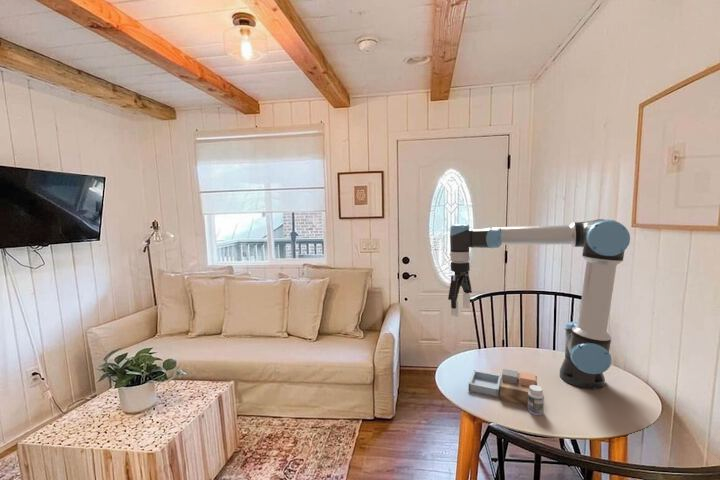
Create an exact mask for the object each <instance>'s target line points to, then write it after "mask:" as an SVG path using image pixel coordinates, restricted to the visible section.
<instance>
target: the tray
mask: <svg viewBox="0 0 720 480" xmlns="http://www.w3.org/2000/svg"><path fill="white" fill-rule="evenodd" d="M501 377H502V374H496V373H495V374H494V373H489V372H486V371H485V372H484V371H481V370H472V373H471V377H470V379H469V381H468V392H471V393H475V394H480V395H484V396H490V397H493V398H500V382H501Z"/></svg>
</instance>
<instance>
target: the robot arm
mask: <svg viewBox="0 0 720 480" xmlns="http://www.w3.org/2000/svg"><path fill="white" fill-rule="evenodd" d="M449 231H450V232H449V233H450V234H449V238H450V239H449V240H450V242H449V243H450V253H449V256H450V261H451V262H450V271H451V272H454V275H453V274H452V275H451V276H450V286H449V290H448V297H447V298H448V299H447V300H449V301H450V316H451V317H459V300H458V297H459V292H460V289H462V291H463V292H462V307H463V308H464V309H471V302H470V301H471V300H470V299H471V298H470V296H471V295H470V294H472V293H473V290H472V285H471V280H470V275H469V274H470V270H471V269H470V267H471V266H470V261H471V260H470V248H477V249H478V248H479V249H481V248H482V249H483V248H484V249H488V248H489V249H494V248H496V249H498V248H500V247H501V245H504V246H505V245H507V246H508V245H510V246H511V245H515V246H516V245H517V246H518V245H522V246H523V245H571V246H572V247H574V248H576V247H577V248H582V257H583V259H584V260H585V261H586V265H585V269H584V270H585V272H584V276H583V277H584V278H583V284H582V285H583V286H582V293H581V300H580V306H579V307H580V308H579V313H578V314H579V315H578V321H570V322H567V323H565V328H564V330H565V342H564V344H565V347H564V359H563V361H562V363H561V366H560V368H559V377H560V379H561V380H563V381H564V382H565V383H568V384H570V385H572V386H575V387H578V388H582V389H587V390H588V389H589V390H599V389H602V388H604V387H605V385H606V379H605V375H604V373H605V372H606V371H608V370H609V368H611V365H612V356H611V353H610V351H611V350H610V348H611V343H612V342H611V341H612V336H611V335H610V333H608V325H609V320H610V319H609V318H610V311H611V305H612V299H613V293H614V285H615V278H616V273H617V266H618V265H619V264H620V263H622V262H623V261H624V257H625V256H624V255H625V251H626V249H628V247H629V245H630V242H631V235H630V232H629V230H628V229H627V227H625V226H624V224H623V223H620V222H619V221H616V220H613V219H602V218H601V219H594V220H589V221H588V220H587V221H579V222H577V221H575V222H572V223H571V224H568V225H567V224H566V225H565V224H564V225H560V224H559V225H531V226H530V225H529V226H528V225H527V226H501V227H500V226H499V227H495V226H493V227H492V226H486V227H484V228H478V229H477V228H476V229H474V228H472V229H471V228H470V226H469V224H453V225H451V226H450V230H449Z"/></svg>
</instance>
